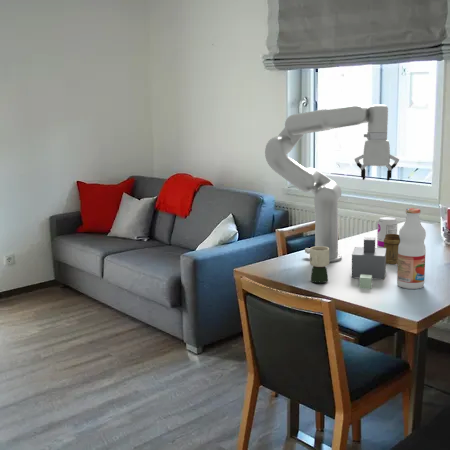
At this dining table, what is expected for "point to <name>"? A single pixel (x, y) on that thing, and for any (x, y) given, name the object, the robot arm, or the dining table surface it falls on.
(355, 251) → the cover
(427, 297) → the dining table surface
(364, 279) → the block
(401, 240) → the fruit juice
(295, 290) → the dining table surface
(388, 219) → the supplement can
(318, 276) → the character mug
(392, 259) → the wooden mug
